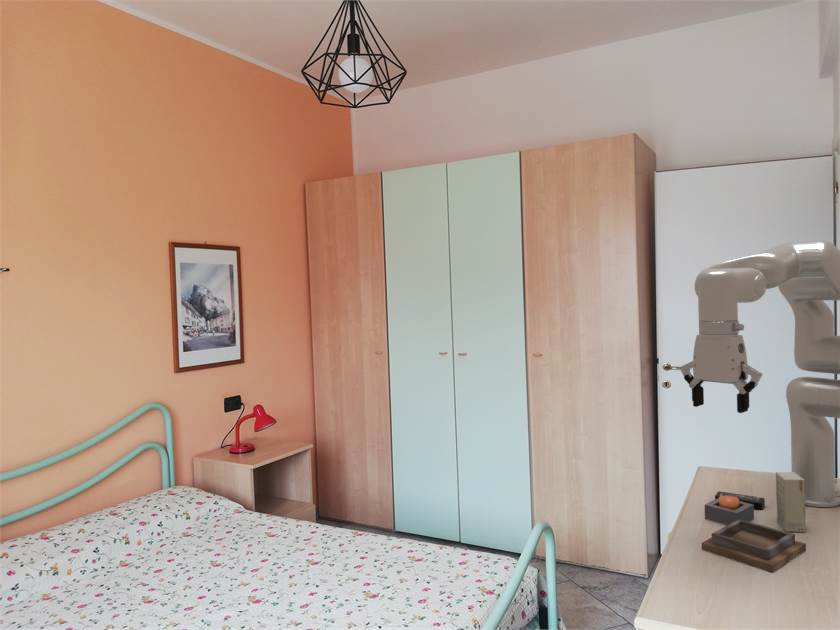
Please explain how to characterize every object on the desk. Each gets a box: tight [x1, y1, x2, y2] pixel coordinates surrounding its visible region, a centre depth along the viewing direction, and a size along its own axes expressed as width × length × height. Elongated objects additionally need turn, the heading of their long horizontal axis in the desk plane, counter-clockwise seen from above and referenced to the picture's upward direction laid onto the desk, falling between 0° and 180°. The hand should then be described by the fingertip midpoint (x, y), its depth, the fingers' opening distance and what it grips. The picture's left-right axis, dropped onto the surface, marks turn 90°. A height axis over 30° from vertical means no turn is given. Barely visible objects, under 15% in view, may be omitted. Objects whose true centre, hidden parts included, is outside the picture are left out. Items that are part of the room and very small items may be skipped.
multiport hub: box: [714, 490, 766, 512], centre depth 166 cm, size 4×11×2 cm, turn 53°
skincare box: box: [775, 471, 807, 533], centre depth 150 cm, size 6×4×12 cm
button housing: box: [704, 498, 755, 526], centre depth 157 cm, size 8×8×4 cm
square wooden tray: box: [701, 519, 807, 574], centre depth 140 cm, size 15×15×4 cm
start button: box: [719, 495, 739, 510], centre depth 157 cm, size 4×4×2 cm
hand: (720, 408), depth 138 cm, fingers open, 9 cm apart
